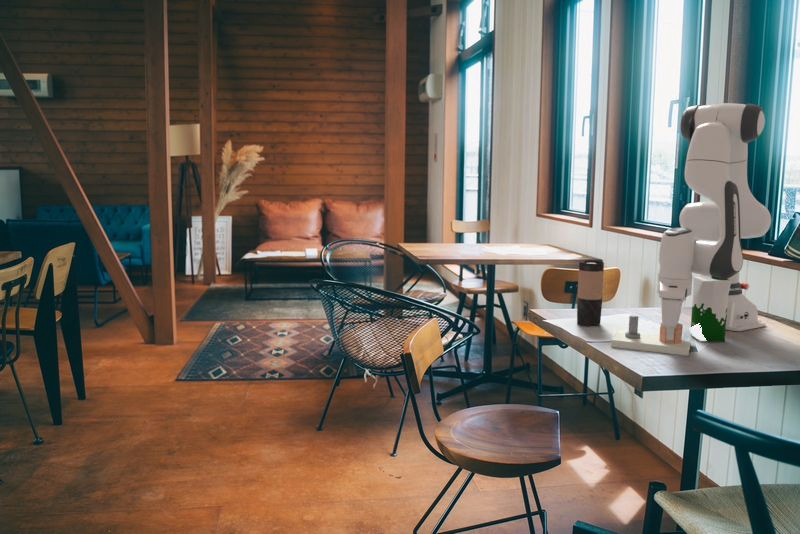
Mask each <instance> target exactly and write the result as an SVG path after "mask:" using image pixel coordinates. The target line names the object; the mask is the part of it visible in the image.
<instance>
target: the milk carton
mask: <svg viewBox="0 0 800 534" xmlns="http://www.w3.org/2000/svg"><path fill="white" fill-rule="evenodd" d="M730 285H731V281H730V280H728V279H722V278H717V277H713V276H712V277H706V276H702V277H700V276H692V304H691V316H690V317H691V321H690V328H691V327H692V326H694V325H696V324H698V323H700V324H699V325H701V327H702V334H703V335H704V337H705V338H706V340H707V341H708V342H707V343H709V342H710V343H725V342H726V332H727V330H726V319H727V306H728V294H729V290H730ZM701 327H700V328H701Z"/></svg>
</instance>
